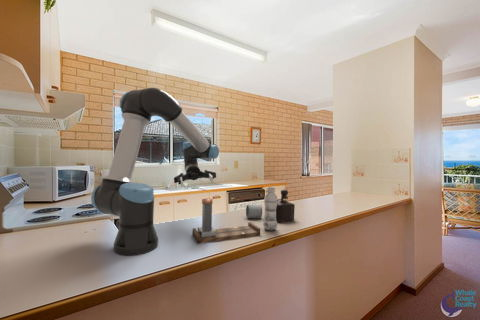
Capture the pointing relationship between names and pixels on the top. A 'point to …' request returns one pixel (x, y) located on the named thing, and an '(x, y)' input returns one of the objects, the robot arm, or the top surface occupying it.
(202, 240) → the fader track
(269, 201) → the plastic bottle
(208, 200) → the grey upright piece
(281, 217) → the black block with knob
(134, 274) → the top surface
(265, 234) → the top surface
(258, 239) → the top surface
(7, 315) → the top surface
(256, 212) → the ceramic mug
